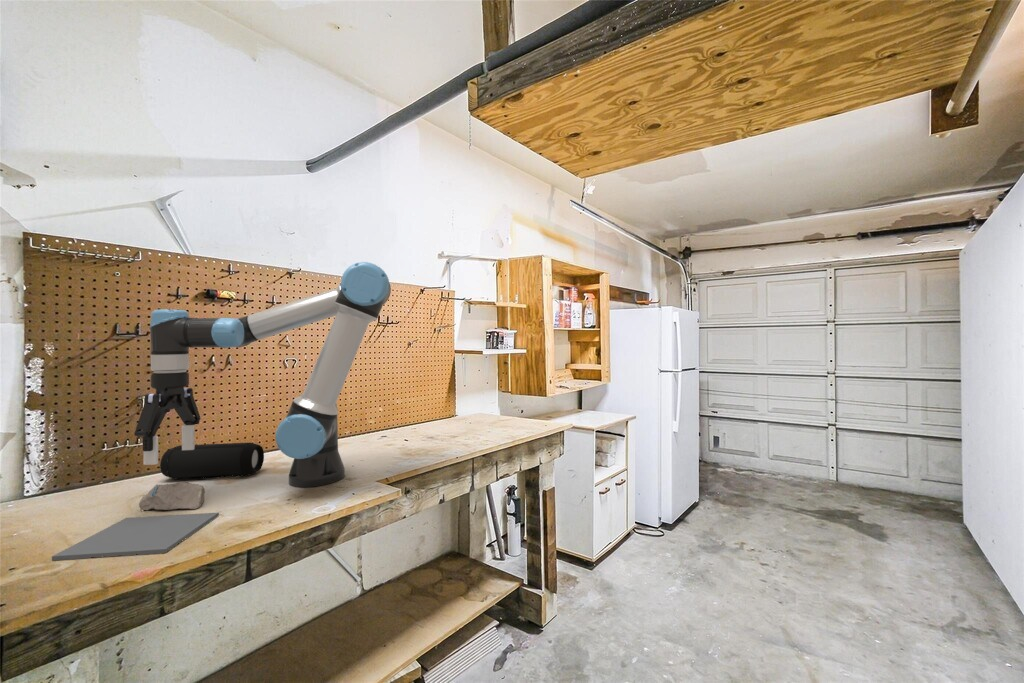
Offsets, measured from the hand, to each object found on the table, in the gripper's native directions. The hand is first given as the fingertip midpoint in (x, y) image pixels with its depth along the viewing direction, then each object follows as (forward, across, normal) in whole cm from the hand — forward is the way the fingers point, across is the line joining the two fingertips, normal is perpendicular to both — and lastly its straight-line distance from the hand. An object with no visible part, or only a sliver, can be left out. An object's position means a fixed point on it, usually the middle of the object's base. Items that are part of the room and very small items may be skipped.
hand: (170, 456), depth 108 cm
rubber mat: (+12, +17, +6) cm, 22 cm away
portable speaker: (+13, -25, -4) cm, 28 cm away
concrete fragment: (+13, 0, +1) cm, 13 cm away
